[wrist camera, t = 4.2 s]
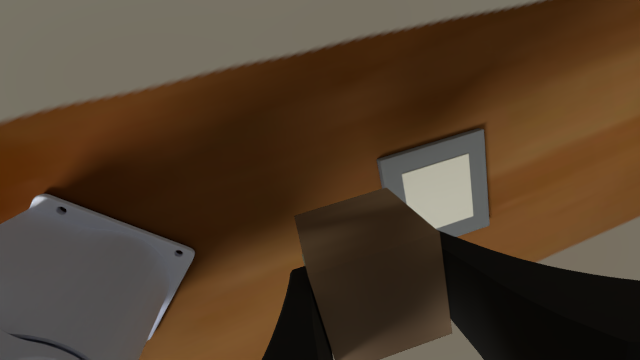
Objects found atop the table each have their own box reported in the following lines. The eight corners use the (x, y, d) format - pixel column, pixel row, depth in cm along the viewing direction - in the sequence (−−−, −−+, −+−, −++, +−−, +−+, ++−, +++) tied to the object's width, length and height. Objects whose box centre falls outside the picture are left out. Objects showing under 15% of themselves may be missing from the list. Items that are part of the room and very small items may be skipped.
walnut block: (318, 292, 13) (339, 373, 10) (294, 216, 12) (307, 275, 8) (401, 265, 14) (452, 333, 10) (386, 187, 12) (439, 232, 9)
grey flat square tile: (394, 252, 24) (398, 257, 23) (376, 159, 21) (380, 161, 20) (484, 222, 25) (490, 225, 24) (478, 128, 22) (484, 129, 21)
